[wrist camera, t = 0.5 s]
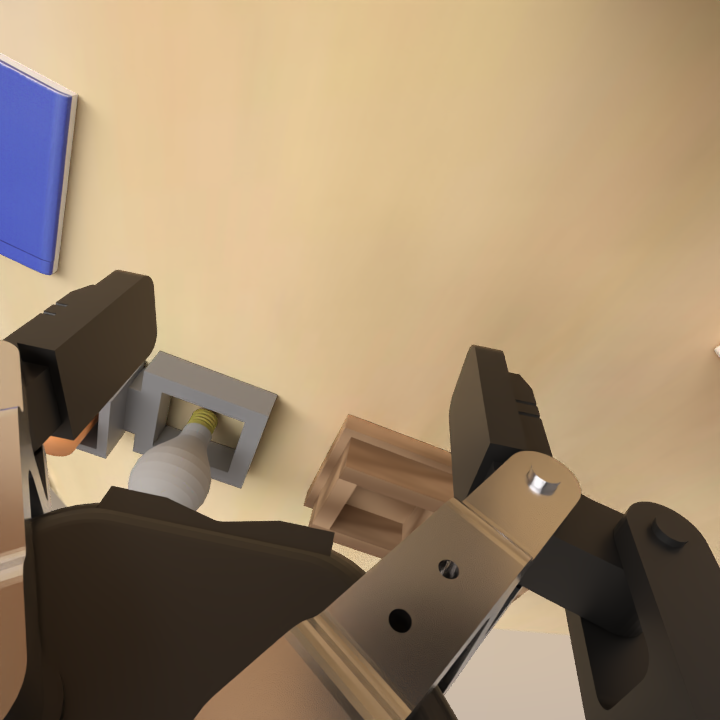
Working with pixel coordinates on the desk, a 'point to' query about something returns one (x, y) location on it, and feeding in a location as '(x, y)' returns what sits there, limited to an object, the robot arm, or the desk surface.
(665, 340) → the desk surface
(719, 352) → the ink cartridge box
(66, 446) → the orange ball
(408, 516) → the bulb rack
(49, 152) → the blue book
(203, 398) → the bulb socket block
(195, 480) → the light bulb
